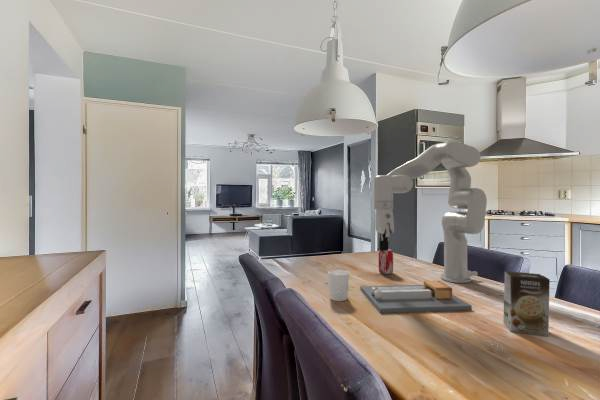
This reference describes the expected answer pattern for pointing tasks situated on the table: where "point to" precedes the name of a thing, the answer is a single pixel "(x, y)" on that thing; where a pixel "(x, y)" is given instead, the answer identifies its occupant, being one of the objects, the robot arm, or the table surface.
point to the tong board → (411, 300)
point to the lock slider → (439, 289)
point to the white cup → (338, 284)
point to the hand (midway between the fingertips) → (383, 250)
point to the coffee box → (526, 303)
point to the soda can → (386, 261)
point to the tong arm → (396, 288)
